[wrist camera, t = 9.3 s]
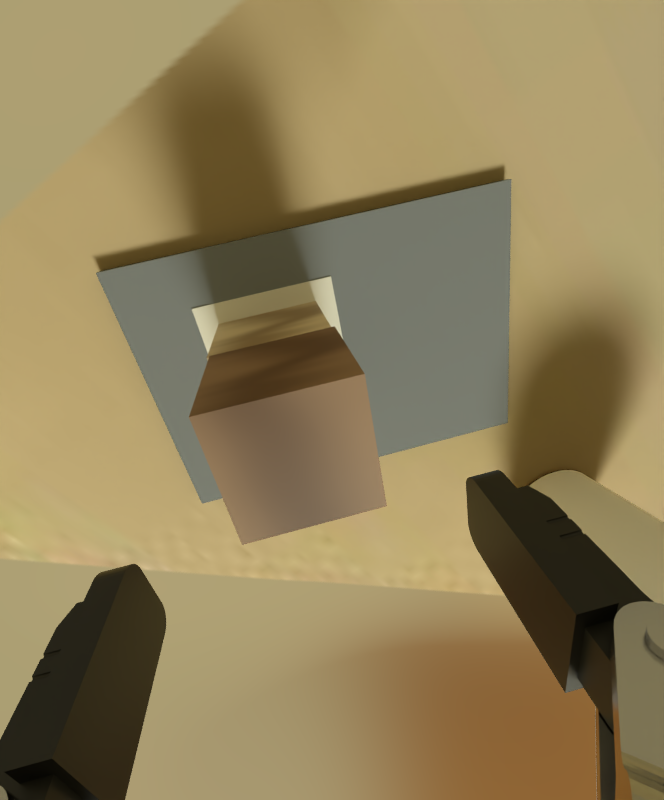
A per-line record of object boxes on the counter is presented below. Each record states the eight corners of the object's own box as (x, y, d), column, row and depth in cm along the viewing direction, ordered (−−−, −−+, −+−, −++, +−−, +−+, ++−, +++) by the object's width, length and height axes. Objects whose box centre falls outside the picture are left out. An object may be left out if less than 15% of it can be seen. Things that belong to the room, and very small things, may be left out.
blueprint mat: (504, 179, 20) (512, 178, 19) (502, 418, 26) (508, 423, 25) (100, 271, 18) (95, 273, 18) (203, 497, 25) (201, 504, 24)
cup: (486, 483, 28) (622, 650, 18) (604, 436, 28) (812, 575, 18) (504, 562, 33) (622, 735, 22) (606, 521, 32) (775, 675, 22)
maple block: (315, 301, 20) (331, 327, 16) (334, 387, 22) (353, 432, 18) (218, 324, 20) (206, 358, 15) (247, 409, 22) (244, 461, 18)
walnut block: (334, 326, 16) (364, 373, 11) (355, 431, 18) (386, 506, 13) (209, 355, 15) (188, 417, 11) (246, 459, 18) (242, 544, 13)
